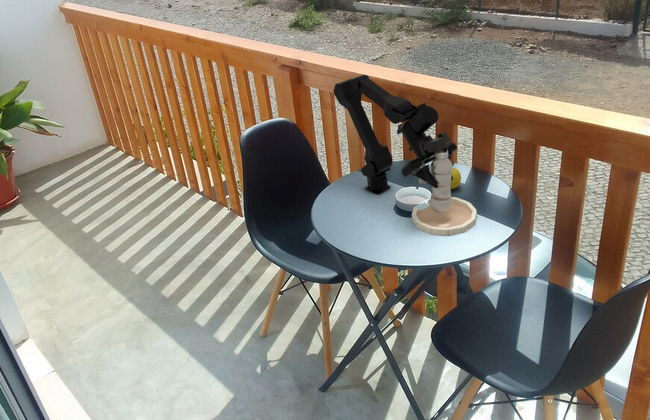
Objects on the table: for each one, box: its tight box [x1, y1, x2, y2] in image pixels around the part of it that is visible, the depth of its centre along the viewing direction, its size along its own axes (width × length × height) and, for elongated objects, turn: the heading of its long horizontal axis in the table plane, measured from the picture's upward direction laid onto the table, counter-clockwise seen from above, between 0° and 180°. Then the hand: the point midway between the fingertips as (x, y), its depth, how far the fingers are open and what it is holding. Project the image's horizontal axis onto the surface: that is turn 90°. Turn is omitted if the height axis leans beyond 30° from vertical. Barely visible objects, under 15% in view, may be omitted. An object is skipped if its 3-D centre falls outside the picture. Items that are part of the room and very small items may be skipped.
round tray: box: [411, 196, 478, 237], centre depth 182 cm, size 19×19×2 cm
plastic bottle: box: [429, 148, 454, 213], centre depth 175 cm, size 6×7×20 cm
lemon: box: [450, 167, 462, 190], centre depth 195 cm, size 6×6×8 cm
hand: (444, 183), depth 174 cm, fingers closed on plastic bottle, 6 cm apart
